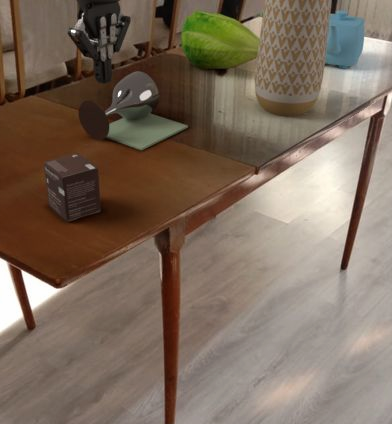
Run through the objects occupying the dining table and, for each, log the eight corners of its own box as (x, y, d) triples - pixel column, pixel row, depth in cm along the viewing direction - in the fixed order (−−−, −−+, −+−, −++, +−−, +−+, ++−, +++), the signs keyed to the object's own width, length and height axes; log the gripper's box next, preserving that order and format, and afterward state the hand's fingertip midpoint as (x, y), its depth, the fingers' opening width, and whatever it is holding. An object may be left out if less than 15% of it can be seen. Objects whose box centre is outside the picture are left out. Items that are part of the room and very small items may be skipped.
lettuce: (250, 85, 141) (255, 28, 133) (169, 71, 147) (170, 15, 139) (269, 68, 151) (275, 13, 143) (193, 55, 156) (195, 2, 148)
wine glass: (73, 125, 117) (122, 97, 126) (106, 150, 116) (153, 120, 126) (80, 89, 111) (131, 62, 120) (115, 115, 110) (163, 86, 119)
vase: (323, 120, 127) (353, -58, 107) (256, 119, 126) (273, -61, 106) (310, 96, 137) (335, -71, 117) (248, 95, 136) (263, -73, 116)
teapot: (299, 70, 150) (307, 18, 143) (316, 50, 163) (323, 1, 156) (350, 78, 147) (361, 25, 140) (363, 57, 160) (373, 7, 153)
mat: (141, 150, 113) (141, 148, 113) (92, 133, 118) (92, 131, 118) (187, 127, 122) (187, 125, 122) (140, 112, 127) (140, 110, 127)
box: (48, 206, 97) (41, 161, 92) (82, 196, 100) (78, 151, 95) (67, 223, 93) (61, 177, 88) (102, 211, 96) (98, 166, 91)
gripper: (107, -45, 101) (113, 67, 113) (46, -33, 93) (60, 87, 104) (143, -38, 98) (145, 77, 109) (83, -25, 90) (93, 97, 101)
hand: (103, 81), depth 107 cm, fingers closed
